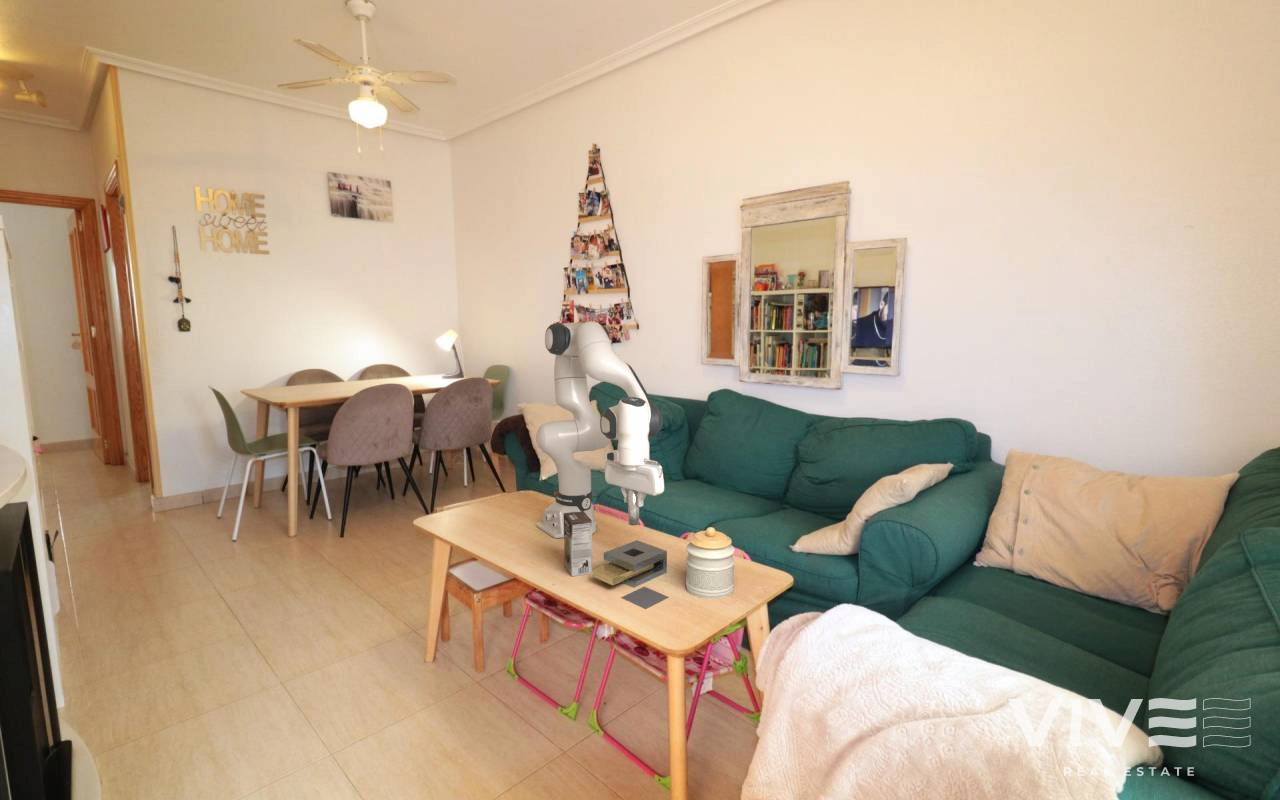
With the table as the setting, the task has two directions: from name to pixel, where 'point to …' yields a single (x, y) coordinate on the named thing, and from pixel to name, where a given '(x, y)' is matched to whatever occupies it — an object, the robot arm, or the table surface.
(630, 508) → the pin
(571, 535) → the coffee box
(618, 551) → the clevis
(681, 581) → the table surface
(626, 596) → the mat
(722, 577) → the jar
